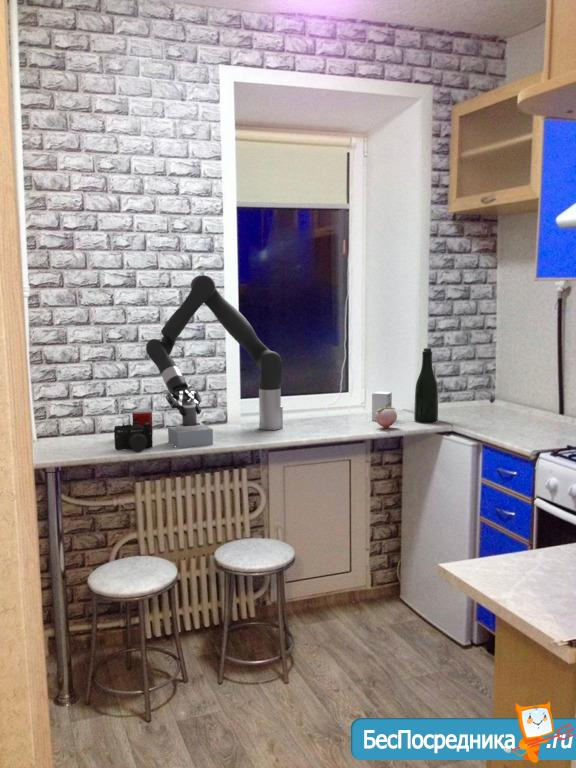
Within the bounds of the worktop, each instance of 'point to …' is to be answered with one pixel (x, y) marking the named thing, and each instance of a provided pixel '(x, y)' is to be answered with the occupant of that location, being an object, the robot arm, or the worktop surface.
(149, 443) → the camera
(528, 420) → the worktop surface
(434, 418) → the dark green wine bottle
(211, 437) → the low grey box
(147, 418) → the canned food
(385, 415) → the decorative fruit
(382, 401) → the supplement box
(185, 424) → the lens
